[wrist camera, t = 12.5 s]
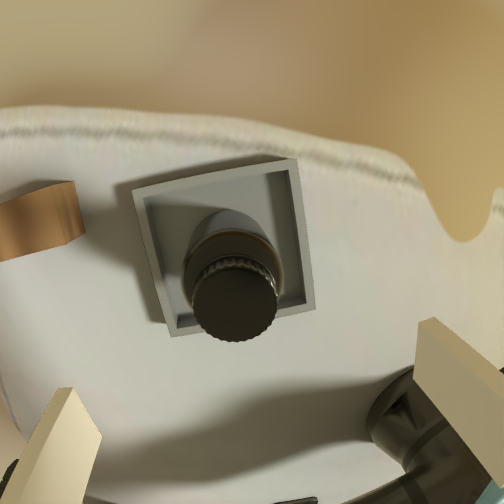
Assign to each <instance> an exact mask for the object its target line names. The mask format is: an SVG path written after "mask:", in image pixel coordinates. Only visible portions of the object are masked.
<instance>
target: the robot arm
mask: <svg viewBox="0 0 504 504" xmlns="http://www.w3.org/2000/svg"><path fill="white" fill-rule="evenodd" d="M367 430H368V433H369V435H370V436H371V438H372V440H373V442H374V443H375V444H376V446H377V447H379V448H380V449H381V450H383V451H384V452H385V453H386V454H388V455H389V456H390V457H392V458H393V459H394V460H396V461H397V462H398V463H399V464H401V466H402V467H403V469H404V471H405V472H406V474H404V475H403V476H401V477H399V478H397V479H395V480H393V481H391V482H389V483H387V484H385V485H383V486H381V487H379V488H376V489H374V490H372V491H370V492H368V493H366V494H363V495H361V496H359V497H356V498H354V499H352V500H349V501H347V502H344V503H342V504H504V367H503V368H502V369H500V370H498V369H497V368H496V367H495V366H493V365H492V364H491V363H490V362H489V361H488V360H486V359H485V358H484V357H483V356H482V355H481V354H479V353H478V352H477V351H476V350H475V349H473V348H472V347H471V346H470V345H469V344H467V343H466V342H465V341H464V340H463V339H461V338H460V337H459V336H458V335H456V334H455V333H454V332H453V331H451V330H450V329H449V328H448V327H447V326H445V325H444V324H443V323H442V322H440V321H439V320H438V319H437V318H435V317H432V318H430V319H427V320H424V321H421V322H419V323H418V336H417V346H416V356H415V365H414V369H413V370H411V371H409V372H408V373H406V374H404V375H403V376H401V377H400V378H399V379H397V380H396V381H395V382H394V383H392V384H391V385H390V386H389V387H388V388H387V389H386V390H385V391H384V392H383V393H382V394H381V395H380V397H379V398H378V399H377V401H376V402H375V404H374V405H373V407H372V409H371V411H370V413H369V415H368V419H367ZM101 439H102V436H101V434H100V432H99V431H98V429H97V428H96V426H95V424H94V423H93V421H92V419H91V418H90V416H89V414H88V413H87V411H86V409H85V407H84V406H83V404H82V402H81V400H80V399H79V397H78V395H77V393H76V391H75V389H74V388H58V389H57V391H56V393H55V395H54V396H53V398H52V400H51V402H50V403H49V405H48V407H47V409H46V410H45V412H44V414H43V416H42V417H41V419H40V421H39V423H38V425H37V427H36V428H35V430H34V432H33V434H32V436H31V438H30V440H29V442H28V443H27V445H26V447H25V449H24V451H23V453H22V455H21V457H20V459H16V460H15V461H14V462H13V463H12V464H11V465H10V466H9V467H8V468H7V470H6V472H5V474H4V476H3V478H2V479H3V481H1V483H0V504H82V501H83V497H84V494H85V490H86V487H87V484H88V480H89V477H90V474H91V470H92V467H93V464H94V461H95V458H96V454H97V451H98V448H99V445H100V442H101Z"/></svg>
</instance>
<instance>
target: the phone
mask: <svg viewBox="0 0 504 504" xmlns="http://www.w3.org/2000/svg"><path fill="white" fill-rule="evenodd" d="M317 503H318V500H317V498H316V497H308V498H303V499H297V500H291V501H285V502H278V503H275V504H317Z"/></svg>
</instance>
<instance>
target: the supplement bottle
mask: <svg viewBox="0 0 504 504" xmlns="http://www.w3.org/2000/svg"><path fill="white" fill-rule="evenodd" d="M180 283H181V289H182V293H183V296H184V298H185V300H186V302H187V304H188V305H189V307H190V308H191V309H192V310H193V314H194V316H195V317H196V321H197V323H199V324H200V326H201V328H202V329H204V330H205V331H206V333H207V334H210V335H212V336H213V337H214V338H218V339H219V340H222V341H223V340H225V341H227V342H232V341H233V342H239V341H246V340H248V339H253V338H254V337H255V336H259V335H260V334H261V333H262V332H264V331H266V329H267V327H269V326H270V325H271V323H272V321H273V320H274V319H275V314H276V313H277V311H278V309H277V306H278V304H279V302H278V300H279V298H280V296H281V293H282V289H283V284H284V271H283V266H282V263H281V260H280V258H279V256H278V254H277V252H276V250H275V249H274V247H273V245H272V244H271V242H270V241H269V239H268V237H267V236H266V234H265V232H264V231H263V229H262V228H261V226H260V225H259V224H258V223H257V222H256V221H255V220H254V219H253V218H251V217H250V216H248V215H246V214H244V213H242V212H239V211H233V210H224V211H219V212H215V213H213V214H211V215H209V216H207V217H206V218H204V219H203V220H202V221H201V222H200V223H199V224H198V225H197V227H196V228H195V230H194V231H193V234H192V236H191V238H190V241H189V245H188V248H187V251H186V254H185V257H184V260H183V264H182V268H181V275H180Z"/></svg>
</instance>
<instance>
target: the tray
mask: <svg viewBox="0 0 504 504" xmlns="http://www.w3.org/2000/svg"><path fill="white" fill-rule="evenodd" d="M132 195H133V200H134V204H135V209H136V213H137V217H138V222H139V226H140V230H141V234H142V238H143V242H144V246H145V250H146V254H147V258H148V262H149V265H150V269H151V273H152V276H153V280H154V284H155V287H156V291H157V294H158V297H159V301H160V304H161V308H162V311H163V314H164V317H165V321H166V324H167V327H168V330H169V333H170V336H171V337H177V336H184V335H190V334H196V333H201V332H206V331H205V330H204V329H202V328H201V326H200V324H199V323H197V321H196V317H195V316H194V314H193V310H192V309H191V308H190V307H189V305H188V304H187V302H186V300H185V298H184V296H183V293H182V289H181V283H180V275H181V268H182V264H183V260H184V257H185V254H186V251H187V248H188V245H189V241H190V238H191V236H192V234H193V231H194V230H195V228H196V227H197V225H198V224H199V223H200V222H201V221H202V220H203V219H204V218H206V217H207V216H209V215H211V214H213V213H215V212H219V211H224V210H233V211H239V212H242V213H244V214H246V215H248V216H250V217H251V218H253V219H254V220H255V221H256V222H257V223H258V224H259V225H260V226H261V228H262V229H263V231H264V232H265V234H266V236H267V237H268V239H269V241H270V242H271V244H272V245H273V247H274V249H275V250H276V252H277V254H278V256H279V258H280V260H281V263H282V266H283V271H284V284H283V289H282V293H281V296H280V298H279V300H278V302H279V304H278V306H277V309H278V311H277V313H276V314H275V318H279V317H284V316H289V315H293V314H298V313H302V312H307V311H311V310H315V309H316V305H315V295H314V286H313V276H312V268H311V259H310V251H309V242H308V235H307V227H306V219H305V212H304V205H303V198H302V191H301V184H300V177H299V171H298V164H297V159H284V160H277V161H271V162H265V163H259V164H253V165H247V166H241V167H235V168H230V169H224V170H219V171H214V172H209V173H204V174H199V175H194V176H189V177H184V178H180V179H175V180H170V181H166V182H162V183H157V184H153V185H149V186H144V187H140V188H137V189H134V190H132Z"/></svg>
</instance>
